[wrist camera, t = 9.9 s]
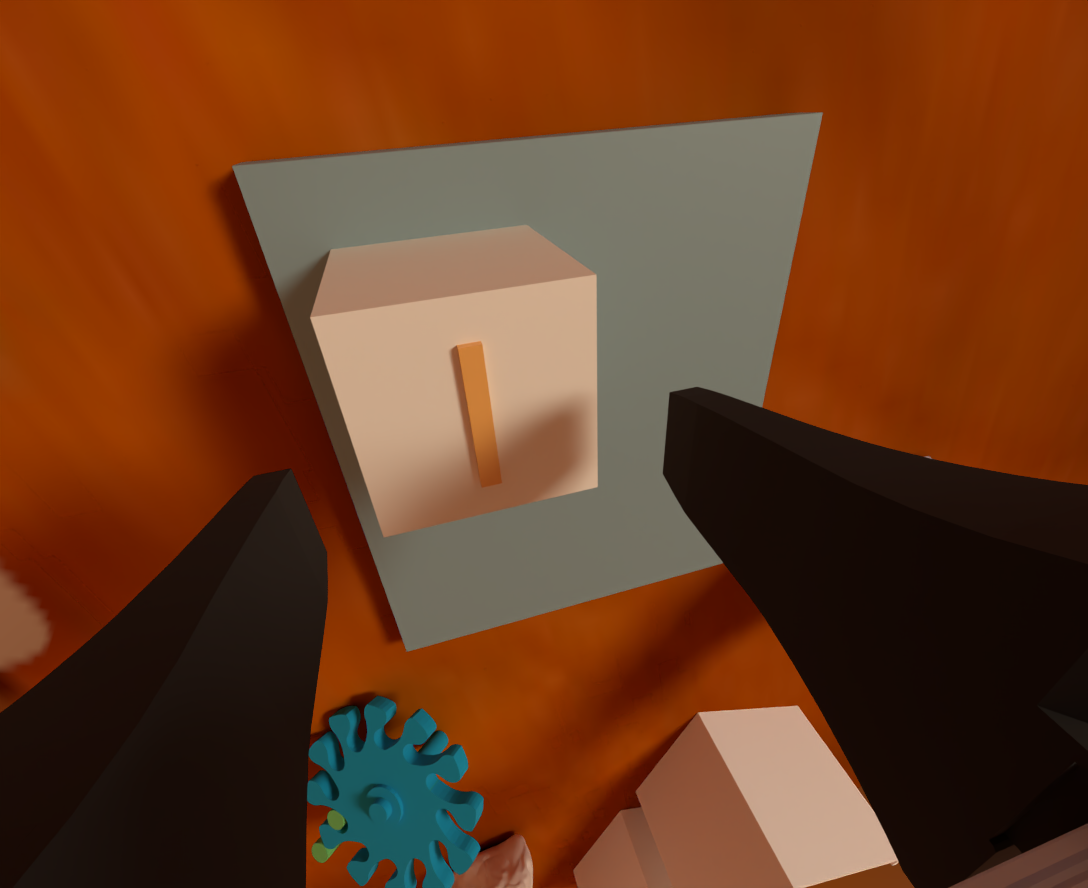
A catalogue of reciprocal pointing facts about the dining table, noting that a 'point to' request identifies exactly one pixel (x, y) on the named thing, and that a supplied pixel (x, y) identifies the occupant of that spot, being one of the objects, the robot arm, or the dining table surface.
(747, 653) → the dining table surface
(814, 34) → the dining table surface
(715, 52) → the dining table surface
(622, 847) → the storage container
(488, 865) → the bust
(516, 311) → the cabinet with handle
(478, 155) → the base plate
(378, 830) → the gear
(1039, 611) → the robot arm
